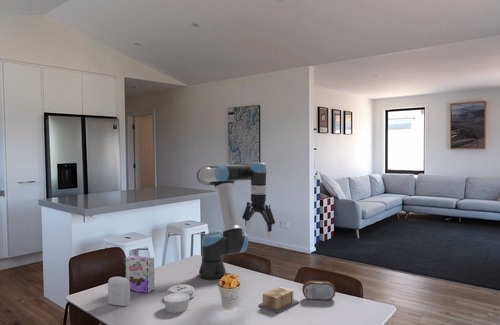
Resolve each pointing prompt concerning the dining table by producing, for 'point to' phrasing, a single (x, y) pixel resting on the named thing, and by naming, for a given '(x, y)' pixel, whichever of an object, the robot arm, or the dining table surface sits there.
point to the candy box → (140, 273)
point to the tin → (318, 290)
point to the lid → (182, 289)
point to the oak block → (278, 297)
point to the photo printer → (119, 291)
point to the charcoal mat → (280, 308)
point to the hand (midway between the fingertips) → (258, 235)
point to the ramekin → (176, 302)
